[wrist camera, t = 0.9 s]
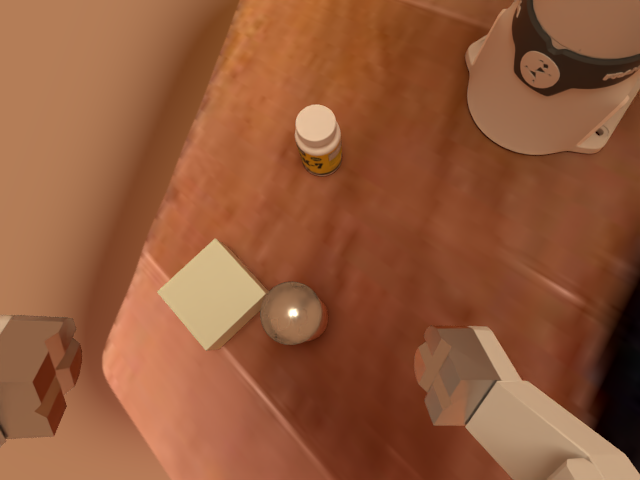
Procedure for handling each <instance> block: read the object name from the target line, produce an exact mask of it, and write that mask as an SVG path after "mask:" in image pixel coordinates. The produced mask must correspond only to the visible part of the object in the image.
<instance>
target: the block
mask: <svg viewBox="0 0 640 480" xmlns="http://www.w3.org/2000/svg"><path fill="white" fill-rule="evenodd" d="M157 292H158V294H159V295H160V296H161V297H162V298H163V300H164V301H165V302H166V303H167V304H168V306H169V307H170V308H171V309H172V310H173V312H174V313H175V314H176V315H177V317H178V318H179V319H180V320H181V321H182V323H183V324H184V325H185V326H186V327H187V329H188V330H189V331H190V332H191V333H192V335H193V336H194V337H195V338H196V339H197V341H198V342H199V343H200V344H201V345H202V347H203V348H204V349H205V350H206V351H208V350H217V349H220V348H221V347H222V346H223V345H224V344H225V343H226V342H227V341H228V340H230V339H231V338H232V337H233V336H234V335H235V334H236V333H237V332H238V331H239V330H240V329H241V328H242V327H243V326H244V325H245V324H246V323H247V322H248V321H249V320H250V319H251V318H253V317H254V316H255V315H256V314H257V313H258V312H259V311H260V309H261V305H262V302H263V300H264V298H265V296H266V295H267V293H268V292H269V291H268V290H267V289H266V288H265V287H264V286H263V285H262V284H261V283H260V282H259V280H258V279H257V278H256V277H255V276H254V275H253V274H252V273H251V272H250V271H249V270H248V268H247V267H246V266H245V265H244V264H243V263H242V262H241V261H240V260H239V259H238V258H237V256H236V255H235V254H234V253H233V252H232V251H231V250H230V249H229V248H228V247H227V246H226V245H225V244H223V243H222V242H220V241H219V240H217V239H216V238H215V239H214V240H213V241H212V242H211V243H210V244H209V245H207V246H206V247H205V248H204V249H203V250H202V251H201V252H200V253H199V254H198V255H197V256H195V257H194V258H193V259H192V260H191V261H190V262H189V263H188V264H187V265H186V266H185V267H184V268H182V269H181V270H180V271H179V272H178V273H177V274H176V275H175V276H174V277H173V278H172V279H170V280H169V281H168V282H167V283H166V284H165V285H164V286H163V287H162V288H161V289H160V290H159V291H157Z"/></svg>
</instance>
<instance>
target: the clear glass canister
mask: <svg viewBox="0 0 640 480" xmlns="http://www.w3.org/2000/svg"><path fill="white" fill-rule="evenodd" d="M260 318H261V323H262V326H263V328H264V330H265V332H266V333H267V334H268V335H269V336H270V337H271V338H272V339H273V340H275V341H277V342H279V343H281V344H285V345H295V344H300V343H303V342H307V341H312V340H314V339H317V338H318V337H319V336H321V335H322V334H323V332H324V331H325V329H326V327H327V325H328V319H329V317H328V311H327V308H326V306H325V304H324V303H323V302H322V301H321V300H320V299H319V298H318V296H317V295H316V294H315V292H314V291H313V290H312V289H311V288H309V287H308V286H306V285H304V284H302V283H298V282H285V283H281V284H279V285H277V286H275V287H274V288H272V289H271V290H270V291H269V292H268V293H267V295H266V296H265V298H264V300H263V302H262V305H261V309H260Z"/></svg>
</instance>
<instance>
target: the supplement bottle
mask: <svg viewBox="0 0 640 480" xmlns="http://www.w3.org/2000/svg"><path fill="white" fill-rule="evenodd" d="M295 139H296V143H297V147H298V150H299V153H300V156H301V160H302V163H303V165H304V167H305V168H306V170H307V171H309V172H310V173H312V174H314V175H317V176H327V175H330V174H332V173H333V172H335V171H336V170H337V169H338V168H339V166H340V164H341V161H342V145H341V131H340V127H339V125H338V123H337V122H336V119H335V116H334V114H333V112H332V111H331V110H330V109H329V108H327V107H325V106H323V105H310V106H308V107H306V108H304V109H303V110H302V111H301V112H300V113H299V114H298V116H297V118H296V130H295Z"/></svg>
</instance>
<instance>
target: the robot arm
mask: <svg viewBox="0 0 640 480" xmlns="http://www.w3.org/2000/svg"><path fill="white" fill-rule="evenodd" d="M465 60H466V64H467V67H468V70H469V74H470V77H469V84H468V91H467V100H468V106H469V110H470V113H471V115H472V117H473V119H474V121H475V123H476V124H477V126H478V127H479V128H480V130H481V131H482V132H483V133H484V134H485V135H486V136H487V137H488V138H490V139H491V140H492V141H494V142H495V143H497V144H499V145H500V146H502V147H504V148H506V149H509V150H512V151H515V152H518V153H523V154H530V155H544V154H551V153H556V152H561V151H573V152H579V153H586V154H593V153H597V152H599V151H600V150H601V149H602V148H603V147H604V146H605V144H606V143H607V141H608V140H609V138H610V136H611V135H612V133H613V131H614V130H615V128H616V127H617V125H618V123H619V122H620V120H621V118H622V117H623V115H624V114H625V112H626V110H627V109H628V107H629V105H630V104H631V102H632V101H633V99H634V97H635V96H636V94H637V92H638V91H639V89H640V0H515V1H514V2H513V3H512V4H511V6H510V7H509V8H508V9H503V10H502V11H501V12H500V13H499V15H498V16H497V18H496V20H495V22H494V24H493V26H492V27H491V29H490V31H489V33H488V34H487V35H485V36H484V37H482V38H481V39H479V40H477V41H476V42H474V43H473V44H471V45H470V46H469V48H468V50H467V51H466V54H465ZM595 132H598V133H599V134H600V136H599V135H597V134H596V133H595ZM75 331H76V326H75V323H74V320H73V319H72V318H67V317H46V316H25V315H0V447H1V446H2V445H3V444H4V443H5V442H6V439H16V438H34V437H52V436H54V435H55V433H56V430H57V428H58V426H59V423H60V421H61V418H62V416H63V414H64V411H65V409H66V407H67V406H66V402H65V399H64V395H65V394H66V393H67V392H69V391H70V390H71V389H72V388H74V387H75V384H76V382H77V379H78V377H79V374H80V369H81V364H82V349H81V345H80V343H79V342H78V341H76V340H75V339H74V338H73V336H74V333H75ZM424 338H425V340H426V342H425V343H424V344H422V345H421V346H419V347H418V349H417V351H416V354H415V356H414V370H415V376H416V379H417V382H418V384H419V385H420V386H421V387H422V388H423V389H424V390H425V391H426V392H427V394H426V397H425V400H424V401H425V404H426V407H427V409H428V412H429V415H430V417H431V420H432V423H433V426H466V427H465V428H466V429H467V430H468V431H469V432H470V433H471V434H472V435H473V436H474V438H475V439H476V440H477V441H478V442H479V443H480V444H481V445H482V446H483V447H484V449H485V450H486V451H487V452H488V453H489V454H490V455H491V456H492V457H493V458H494V459H495V461H496V462H497V463H498V464H499V465H500V466H501V467H502V468H503V469H504V470H505V472H506V473H507V474H508V475H509V476H510V477H511V478H512V479H513V480H640V474H639V473H638V472H637V470H636V469H635V467H634V466H633V465H632V463H631V462H630V460H629V459H628V458H627V456H626V455H625V454H624V453H623V452H621V451H620V450H619V449H617V448H616V447H615V446H613V445H612V444H611V443H609V442H608V441H607V440H605V439H604V438H603V437H601V436H600V435H599V434H597V433H596V432H595V431H593V430H592V429H591V428H589V427H588V426H587V425H585V424H584V423H583V422H581V421H580V420H579V419H577V418H576V417H575V416H573V415H572V414H571V413H570V412H568V411H567V410H566V409H564V408H563V407H562V406H560V405H559V404H558V403H556V402H555V401H554V400H552V399H551V398H550V397H548V396H547V395H546V394H544V393H543V392H542V391H540V390H539V389H538V388H536V387H535V386H534V385H532V384H531V383H530V382H528V381H522V380H521V378H520V376H519V375H518V373H517V371H516V370H515V368H514V367H513V365H512V363H511V362H510V360H509V358H508V357H507V355H506V353H505V352H504V350H503V348H502V347H501V345H500V343H499V342H498V340H497V338H496V337H495V335H494V333H493V332H492V330H491V329H489V328H488V327H487V326H432V325H431V326H430V327H429V328H427V330H426V332H425V334H424Z"/></svg>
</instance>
